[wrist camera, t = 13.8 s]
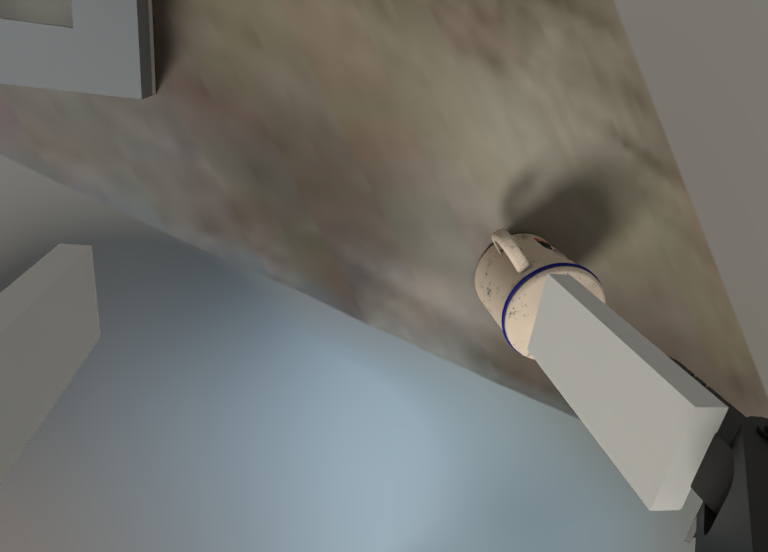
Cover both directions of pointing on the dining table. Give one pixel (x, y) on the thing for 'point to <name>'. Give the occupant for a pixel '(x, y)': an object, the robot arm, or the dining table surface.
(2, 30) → the hole block
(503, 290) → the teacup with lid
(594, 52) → the dining table surface
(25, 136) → the dining table surface
